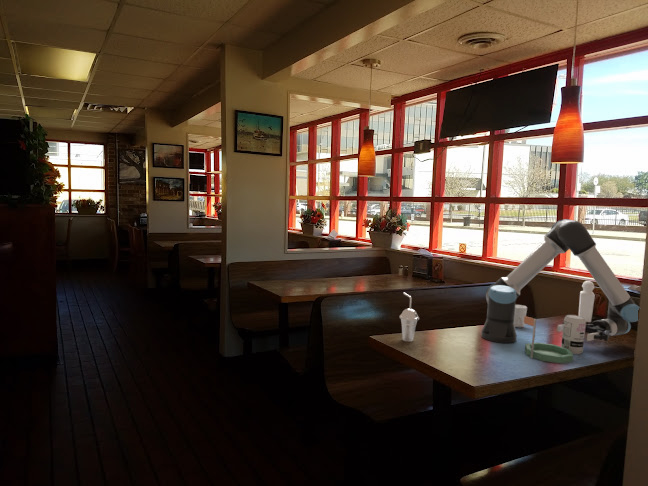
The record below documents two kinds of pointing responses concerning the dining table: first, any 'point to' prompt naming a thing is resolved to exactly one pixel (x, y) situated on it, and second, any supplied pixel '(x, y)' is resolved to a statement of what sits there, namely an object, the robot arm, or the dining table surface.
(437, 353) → the dining table surface
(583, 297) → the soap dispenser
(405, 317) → the cup with straw
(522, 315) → the white cup
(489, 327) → the robot arm
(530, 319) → the cup
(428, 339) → the dining table surface
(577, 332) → the supplement can
